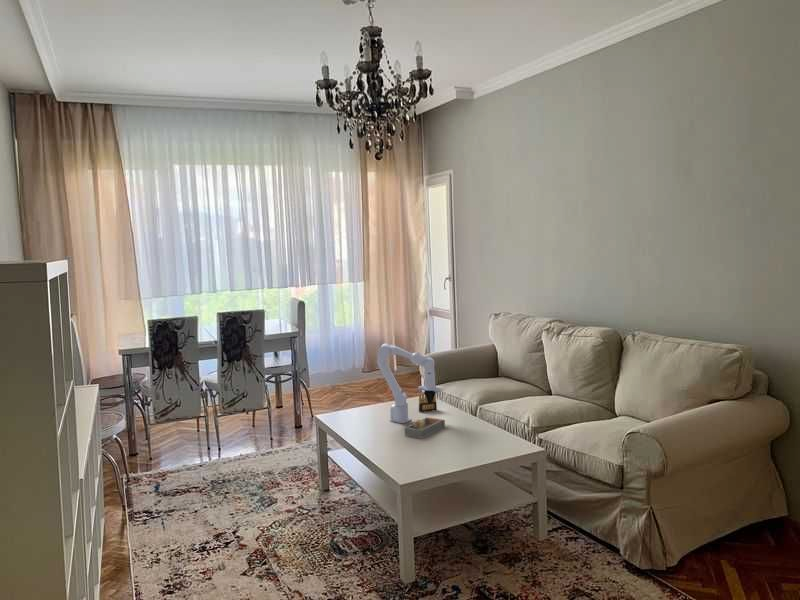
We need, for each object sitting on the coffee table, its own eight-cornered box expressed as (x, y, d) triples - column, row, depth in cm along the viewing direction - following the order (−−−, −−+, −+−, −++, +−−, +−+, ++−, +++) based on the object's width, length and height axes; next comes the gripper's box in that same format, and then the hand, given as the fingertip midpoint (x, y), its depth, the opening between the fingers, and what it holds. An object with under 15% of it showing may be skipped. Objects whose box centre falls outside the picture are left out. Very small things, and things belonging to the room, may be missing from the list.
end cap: (425, 423, 334) (425, 417, 334) (426, 423, 335) (426, 416, 335) (443, 427, 328) (443, 420, 327) (445, 426, 329) (444, 419, 328)
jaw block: (414, 432, 319) (413, 421, 318) (418, 430, 322) (418, 419, 321) (420, 434, 316) (420, 422, 316) (424, 431, 320) (424, 420, 319)
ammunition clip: (435, 409, 363) (435, 389, 362) (436, 410, 362) (436, 390, 360) (418, 411, 360) (418, 391, 359) (419, 412, 359) (419, 392, 358)
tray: (404, 435, 317) (404, 427, 317) (426, 424, 334) (426, 417, 334) (421, 438, 311) (421, 430, 311) (442, 427, 328) (442, 420, 328)
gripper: (414, 379, 340) (415, 404, 341) (437, 382, 332) (437, 407, 333) (421, 377, 346) (422, 401, 347) (443, 380, 337) (444, 404, 339)
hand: (430, 404), depth 340 cm, fingers closed
